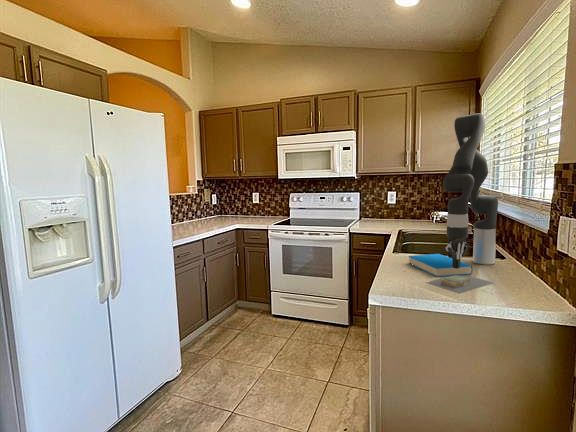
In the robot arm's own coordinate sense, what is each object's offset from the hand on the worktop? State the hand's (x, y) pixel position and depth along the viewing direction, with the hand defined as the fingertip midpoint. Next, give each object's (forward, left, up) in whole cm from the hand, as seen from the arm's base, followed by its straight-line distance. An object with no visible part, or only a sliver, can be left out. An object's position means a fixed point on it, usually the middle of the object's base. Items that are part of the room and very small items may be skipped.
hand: (456, 268), depth 131 cm
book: (-14, -19, -7) cm, 24 cm away
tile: (-4, 0, -6) cm, 7 cm away
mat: (-3, 0, -7) cm, 8 cm away
